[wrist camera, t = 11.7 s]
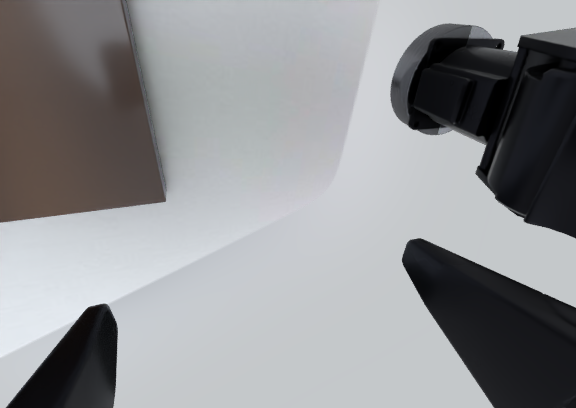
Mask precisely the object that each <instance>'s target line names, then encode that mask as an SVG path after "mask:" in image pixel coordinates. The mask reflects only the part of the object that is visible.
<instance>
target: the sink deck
mask: <svg viewBox="0 0 576 408" xmlns="http://www.w3.org/2000/svg"><path fill="white" fill-rule="evenodd" d="M160 202H166V186H165V181H164V177H163V172H162V167H161V163H160V158H159V153H158V148H157V144H156V139H155V134H154V130H153V125H152V120H151V115H150V111H149V106H148V101H147V97H146V92H145V87H144V83H143V78H142V73H141V68H140V64H139V59H138V54H137V50H136V45H135V40H134V35H133V31H132V26H131V21H130V17H129V12H128V7H127V3H126V0H0V223H1V222H9V221H17V220H25V219H33V218H41V217H49V216H57V215H65V214H72V213H80V212H88V211H96V210H104V209H112V208H120V207H128V206H136V205H144V204H152V203H160Z"/></svg>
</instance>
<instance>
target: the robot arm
mask: <svg viewBox="0 0 576 408" xmlns="http://www.w3.org/2000/svg"><path fill="white" fill-rule="evenodd" d="M436 44H437V47H436V49H435V46H436ZM496 46H497V47H496ZM518 47H519V49H518V52H513V51H507V50H503V48H504V40H502V39H488V38H434V39H432V40H431V41H430V43H429V46H428V49H427V53H426V57H425V61H424V65H423V68H422V72H421V76H420V80H419V84H418V88H417V91H416V95H415V99H414V103H413V107H412V110H411V114H410V118H409V122H408V126H409V128H411V129H412V130H423V129H435V128H447V127H448V128H450V129H452V130H454V131H456V132H459V133H461V134H463V135H465V136H467V137H469V138H472V139H474V140H476V141H478V142H480V143H482V144H484V145H486V148H485V151H484V154H483V157H482V160H481V163H480V166H478V167H477V170H476V175H477V176H478V177H479V178H480V179H481V180H482V181H483V183H484V184H485V185H486V186H487V187H488V188H489V189H490V190H491V191H492V192H493V193H494V194H495V199H496V200H497V201H498V202H499V203H501V204H502V205H504V206H505V207H507V208H508V209H509V210H510V211H512V212H513V213H514V214H516V215H517V216H520V217H523V218H524V222H526V223H529V224H533V225H537V226H542V227H546V228H550V229H552V230H555V231H558V232H562V233H564V234H567V235H569V236H572V237H574V238H576V28H571V29H564V30H557V31H550V32H543V33H537V34H529V35H522V36H521V37H520V40H519V44H518ZM415 122H416V124H415V125H414V123H415ZM402 262H403V265H404V267H405V269H406V271H407V273H408V275H409V277H410V278H411V280H412V282H413V284H414V286H415V288H416V290H417V291H418V293H419V295H420V297H421V299H422V300H423V302H424V304H425V305H426V307H427V309H428V310H429V312H430V313H431V315H432V316H433V318H434V319H435V321H436V322H437V324H438V325H439V327H440V328H441V329H442V331H443V332H444V334H445V336H446V337H447V338H448V340H449V341H450V343H451V344H452V346H453V347H454V349H455V350H456V352H457V353H458V354H459V356H460V358H461V359H462V361H463V362H464V364H465V365H466V367H467V368H468V370H469V371H470V373H471V374H472V376H473V377H474V378H475V380H476V382H477V383H478V385H479V386H480V387H481V389H482V390H483V392H484V393H485V395H486V396H487V398H488V399H489V401H490V402H491V404H492V405H493V407H494V408H576V308H575V307H573V306H571V305H568V304H566V303H564V302H561V301H559V300H557V299H555V298H552V297H550V296H548V295H546V294H542V293H541V292H539V291H537V290H535V289H532V288H530V287H528V286H526V285H523V284H521V283H519V282H517V281H515V280H512V279H510V278H508V277H506V276H503V275H501V274H499V273H497V272H495V271H492V270H490V269H488V268H486V267H483V266H481V265H479V264H477V263H475V262H472V261H470V260H468V259H466V258H463V257H461V256H459V255H457V254H455V253H452V252H450V251H448V250H446V249H444V248H441V247H439V246H437V245H434V244H432V243H430V242H428V241H426V240H424V239H421V238H418V239H413V240H410V241H409V242H408V243H407V245H406V248H405V251H404V254H403V258H402ZM117 335H118V328H117V323H116V321H115V318H114V316H113V314H112V312H111V310H110V307H109V306H108V305H107V304H99V305H95V306H90V307H88V308H87V309H86V310H85V311H84V312H83V314H82V315H81V316H80V317H79V319H78V320H77V321H76V322H75V323H74V325H73V326H72V327H71V328H70V330H69V331H68V332H67V334H65V336H64V337H63V338H62V339H61V341H60V342H59V343H58V344H57V346H56V347H55V348H54V349H53V350H52V352H51V353H50V354H49V355H48V357H47V358H46V359H45V360H44V362H43V363H42V364H41V365H40V366H39V368H38V369H37V370H36V371H35V373H34V374H33V375H32V376H31V378H30V379H29V380H28V381H27V382H26V384H25V385H24V386H23V387H22V388H21V390H20V391H19V392H18V393H17V395H16V396H15V397H14V398H13V400H12V401H11V402H10V403H9V404H8V406H7V407H6V408H113V405H114V397H115V388H116V363H117V337H118V336H117Z"/></svg>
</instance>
